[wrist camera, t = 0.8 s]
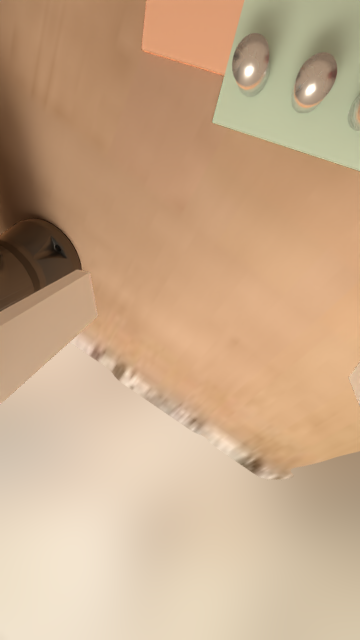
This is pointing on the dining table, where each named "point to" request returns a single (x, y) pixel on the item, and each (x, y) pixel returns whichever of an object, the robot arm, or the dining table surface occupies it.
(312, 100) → the spacers
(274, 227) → the dining table surface
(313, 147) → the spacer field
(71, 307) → the robot arm
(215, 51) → the tile
